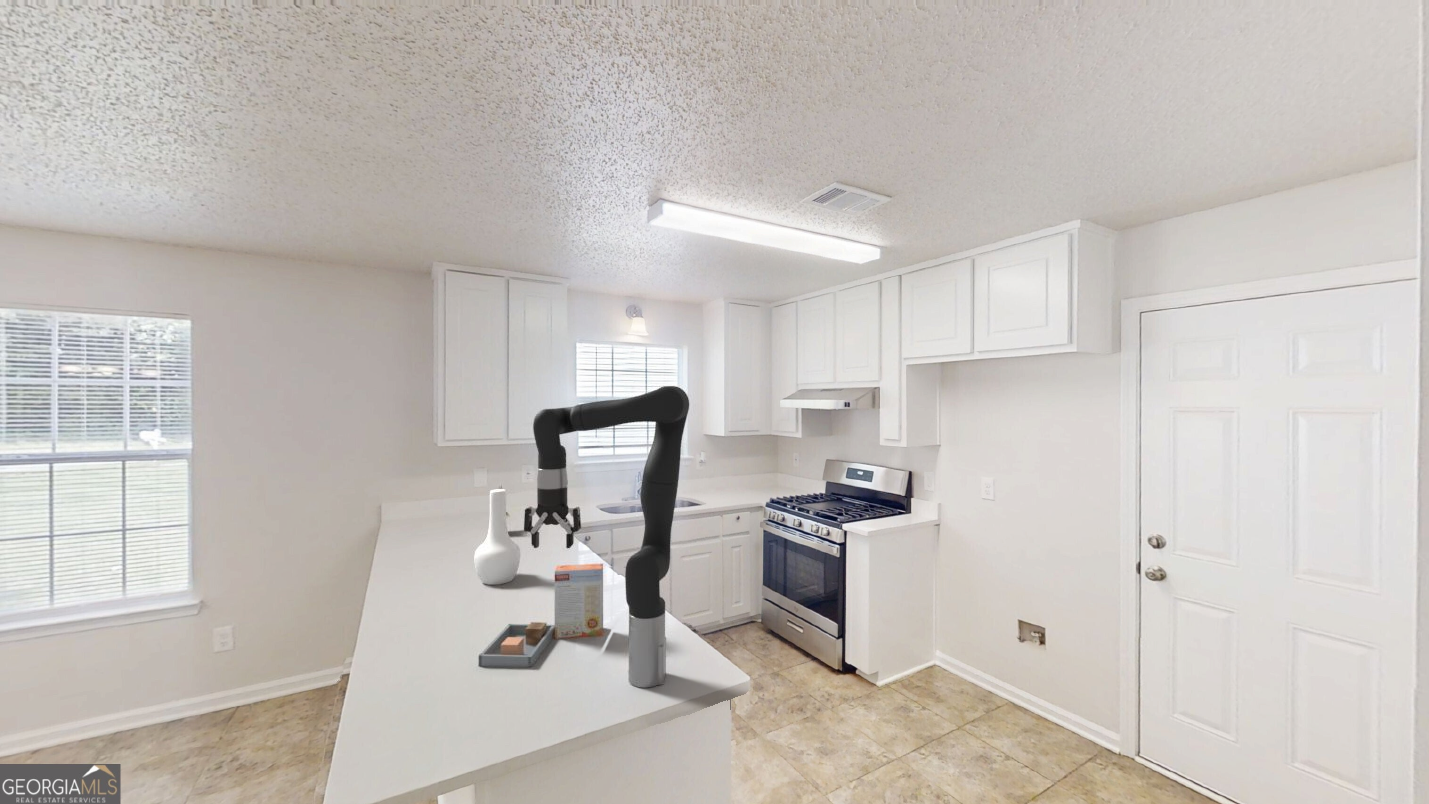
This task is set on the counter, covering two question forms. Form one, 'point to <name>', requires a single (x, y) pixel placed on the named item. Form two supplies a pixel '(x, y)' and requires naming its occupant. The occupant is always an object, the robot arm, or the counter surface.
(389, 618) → the counter surface
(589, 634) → the cracker box
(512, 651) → the terracotta cube
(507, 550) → the vase
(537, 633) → the walnut cube
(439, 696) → the counter surface
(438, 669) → the counter surface
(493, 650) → the slate tray
